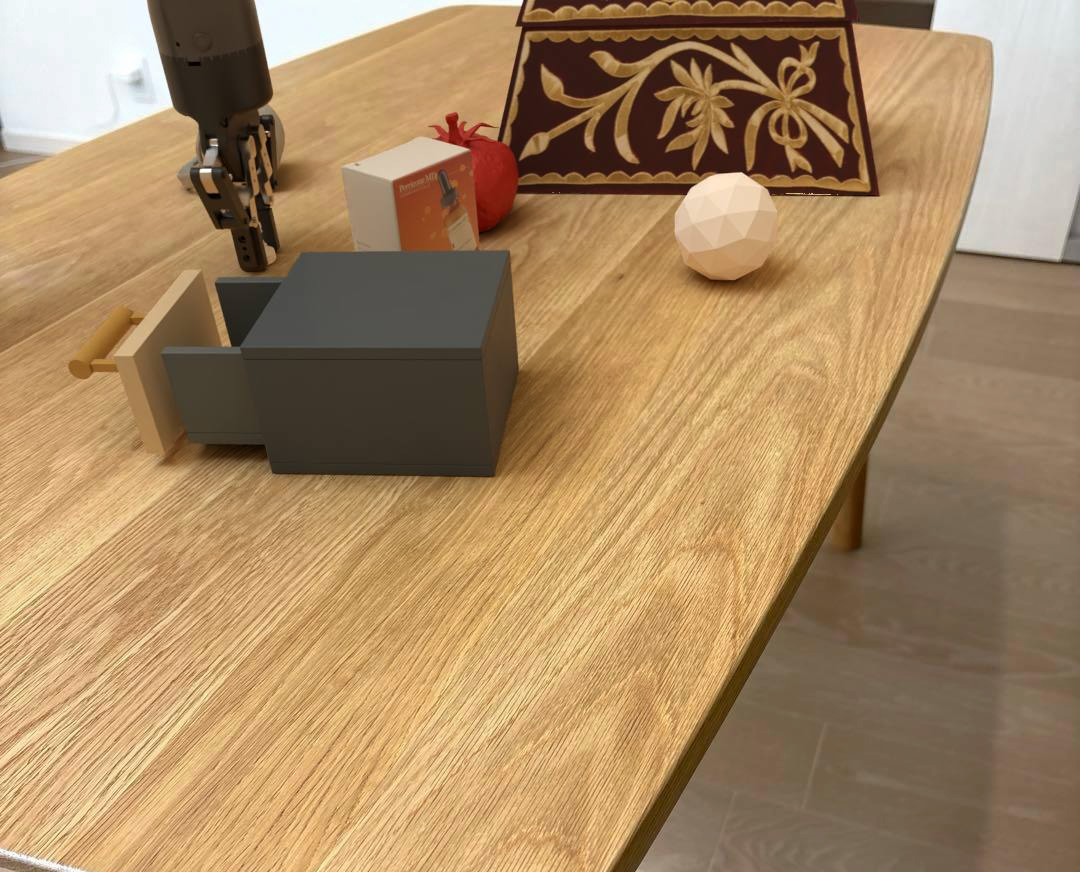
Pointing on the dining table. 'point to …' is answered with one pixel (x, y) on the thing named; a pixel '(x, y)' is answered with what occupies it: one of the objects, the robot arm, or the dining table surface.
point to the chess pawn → (269, 251)
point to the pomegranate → (485, 170)
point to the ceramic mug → (198, 160)
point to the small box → (413, 198)
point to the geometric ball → (726, 226)
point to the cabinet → (386, 363)
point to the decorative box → (688, 96)
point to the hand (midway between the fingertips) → (260, 259)
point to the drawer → (185, 361)
